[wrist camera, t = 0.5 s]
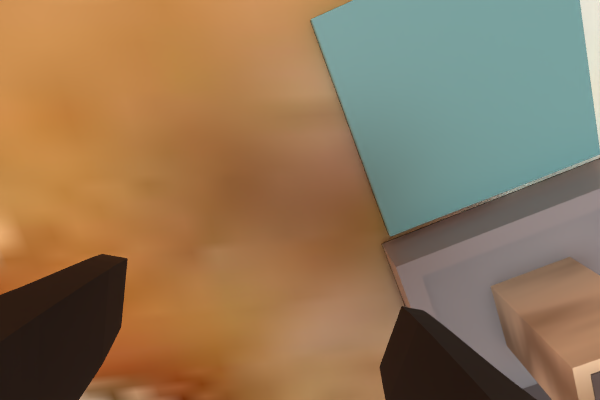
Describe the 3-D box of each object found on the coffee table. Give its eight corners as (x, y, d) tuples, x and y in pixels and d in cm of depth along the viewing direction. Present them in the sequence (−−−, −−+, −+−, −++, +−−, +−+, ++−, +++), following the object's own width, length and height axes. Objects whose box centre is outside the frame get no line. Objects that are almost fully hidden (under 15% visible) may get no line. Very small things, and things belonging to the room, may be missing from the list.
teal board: (592, 152, 18) (600, 154, 18) (387, 232, 19) (390, 236, 19) (557, -91, 15) (566, -97, 14) (310, 20, 16) (311, 19, 15)
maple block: (581, 319, 21) (691, 409, 16) (506, 345, 22) (588, 443, 16) (569, 256, 20) (686, 329, 14) (490, 286, 20) (573, 369, 14)
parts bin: (661, 346, 23) (705, 377, 20) (448, 419, 24) (466, 457, 21) (641, 141, 18) (695, 151, 16) (381, 243, 19) (395, 267, 17)
